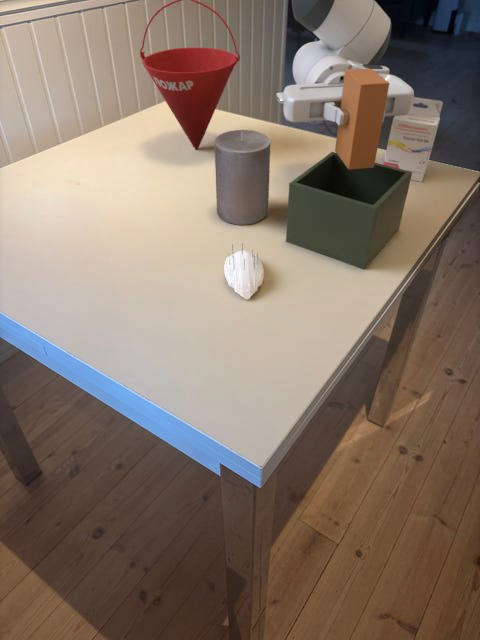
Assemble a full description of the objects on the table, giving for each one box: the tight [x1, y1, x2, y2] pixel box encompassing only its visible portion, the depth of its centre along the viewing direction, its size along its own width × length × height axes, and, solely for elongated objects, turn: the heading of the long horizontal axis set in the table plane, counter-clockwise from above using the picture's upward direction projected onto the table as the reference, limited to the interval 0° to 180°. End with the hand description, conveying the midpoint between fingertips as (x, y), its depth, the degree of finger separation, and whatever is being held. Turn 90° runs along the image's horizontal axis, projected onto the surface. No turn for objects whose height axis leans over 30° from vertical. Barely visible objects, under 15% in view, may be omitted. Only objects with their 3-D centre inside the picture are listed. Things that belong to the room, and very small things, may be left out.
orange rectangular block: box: [334, 69, 389, 169], centre depth 72 cm, size 4×7×12 cm, turn 9°
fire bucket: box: [139, 0, 241, 150], centre depth 104 cm, size 22×20×30 cm
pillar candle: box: [214, 129, 272, 226], centre depth 87 cm, size 10×10×15 cm
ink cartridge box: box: [383, 96, 444, 183], centre depth 98 cm, size 9×5×15 cm, turn 65°
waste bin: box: [285, 151, 412, 270], centre depth 82 cm, size 15×15×11 cm
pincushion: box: [223, 243, 265, 300], centre depth 75 cm, size 12×6×6 cm, turn 4°
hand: (362, 118), depth 71 cm, fingers closed on orange rectangular block, 4 cm apart
